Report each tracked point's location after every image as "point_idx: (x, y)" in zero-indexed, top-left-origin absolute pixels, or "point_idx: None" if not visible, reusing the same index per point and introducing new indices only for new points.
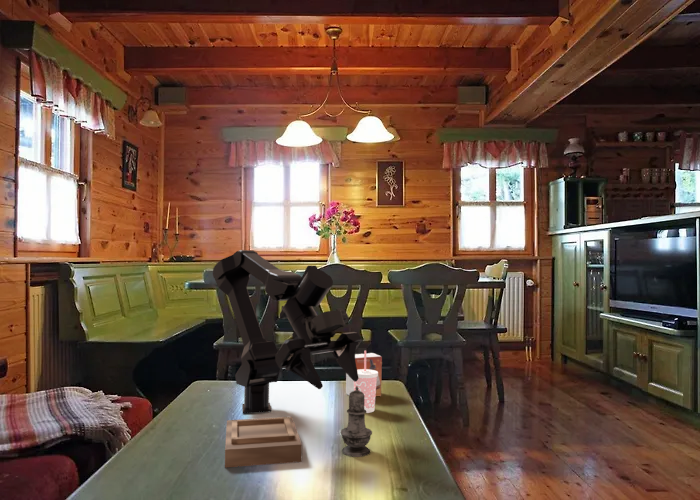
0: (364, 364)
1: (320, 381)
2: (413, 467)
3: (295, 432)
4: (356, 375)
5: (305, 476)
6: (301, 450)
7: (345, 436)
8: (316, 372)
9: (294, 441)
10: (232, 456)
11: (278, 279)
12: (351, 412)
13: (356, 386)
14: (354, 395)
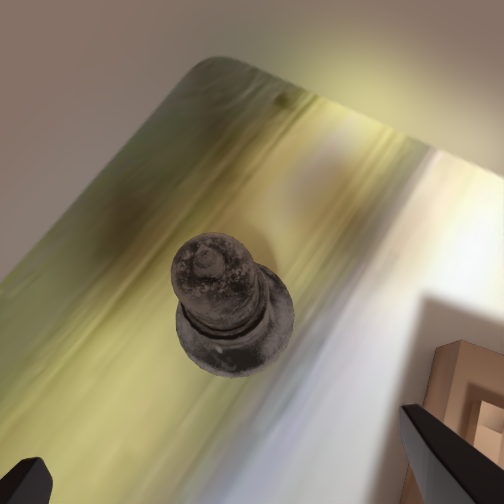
0: None
1: (426, 424)
2: (186, 165)
3: None
4: (19, 475)
5: (460, 253)
6: (452, 344)
7: (291, 303)
8: (483, 500)
9: (478, 383)
10: None
11: None
12: (262, 280)
13: (206, 255)
14: (243, 247)
